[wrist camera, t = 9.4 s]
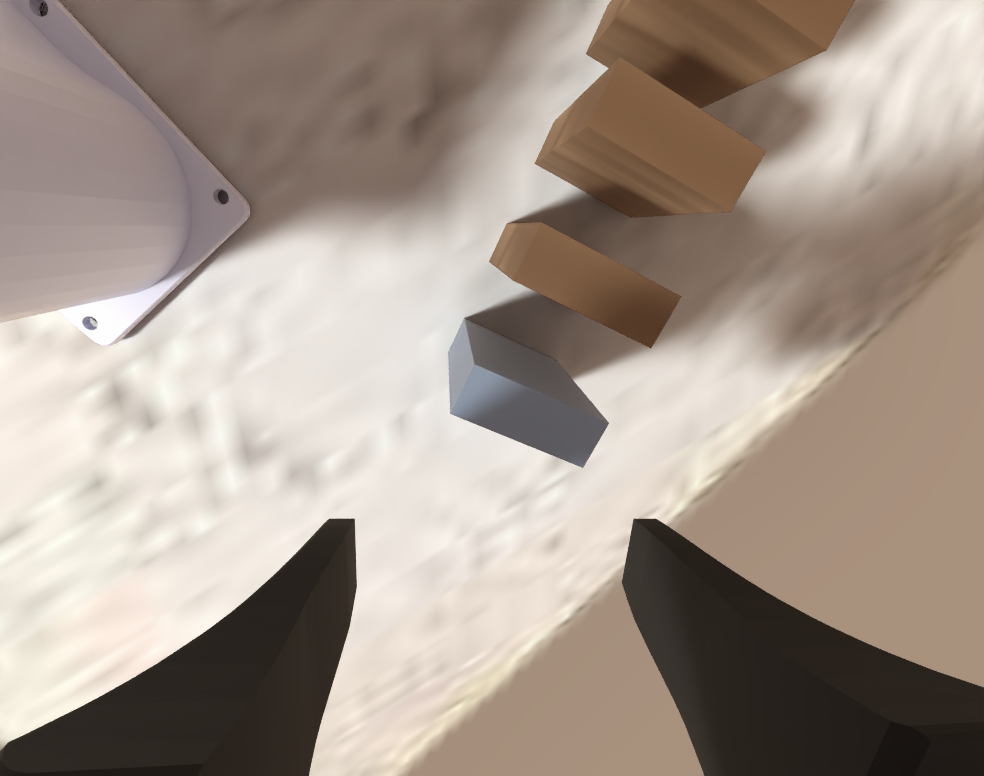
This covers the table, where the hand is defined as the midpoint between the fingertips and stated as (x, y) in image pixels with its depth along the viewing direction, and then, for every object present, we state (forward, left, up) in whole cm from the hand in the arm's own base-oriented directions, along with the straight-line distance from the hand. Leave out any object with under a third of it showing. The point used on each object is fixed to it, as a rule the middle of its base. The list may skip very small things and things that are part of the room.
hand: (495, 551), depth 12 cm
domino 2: (-5, +10, -10) cm, 14 cm away
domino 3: (-3, +6, -10) cm, 12 cm away
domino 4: (-1, +3, -10) cm, 10 cm away
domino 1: (-6, +14, -10) cm, 18 cm away
